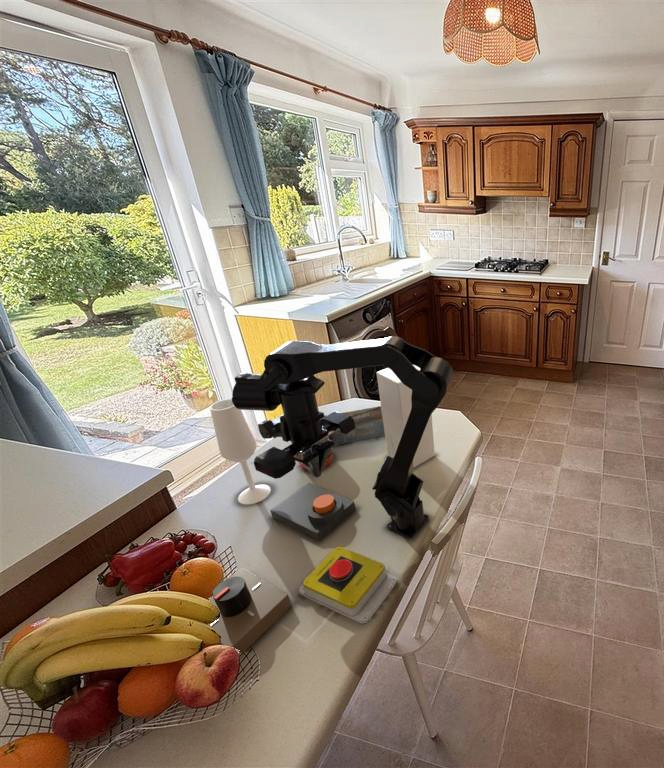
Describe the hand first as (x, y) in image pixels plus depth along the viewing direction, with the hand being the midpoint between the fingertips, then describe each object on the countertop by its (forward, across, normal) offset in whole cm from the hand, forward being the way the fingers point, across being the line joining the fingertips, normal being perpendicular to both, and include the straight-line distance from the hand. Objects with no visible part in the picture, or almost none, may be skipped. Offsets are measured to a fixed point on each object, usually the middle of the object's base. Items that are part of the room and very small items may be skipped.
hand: (317, 476), depth 82 cm
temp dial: (+9, +22, +4) cm, 24 cm away
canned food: (+12, -13, -18) cm, 25 cm away
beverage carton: (+12, -27, -18) cm, 35 cm away
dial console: (+12, +22, +4) cm, 25 cm away
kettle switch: (+8, 0, 0) cm, 8 cm away
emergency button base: (+12, 0, -4) cm, 13 cm away
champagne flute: (+12, +2, -21) cm, 24 cm away
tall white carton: (+12, -26, +2) cm, 29 cm away
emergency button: (+12, +10, +16) cm, 22 cm away
